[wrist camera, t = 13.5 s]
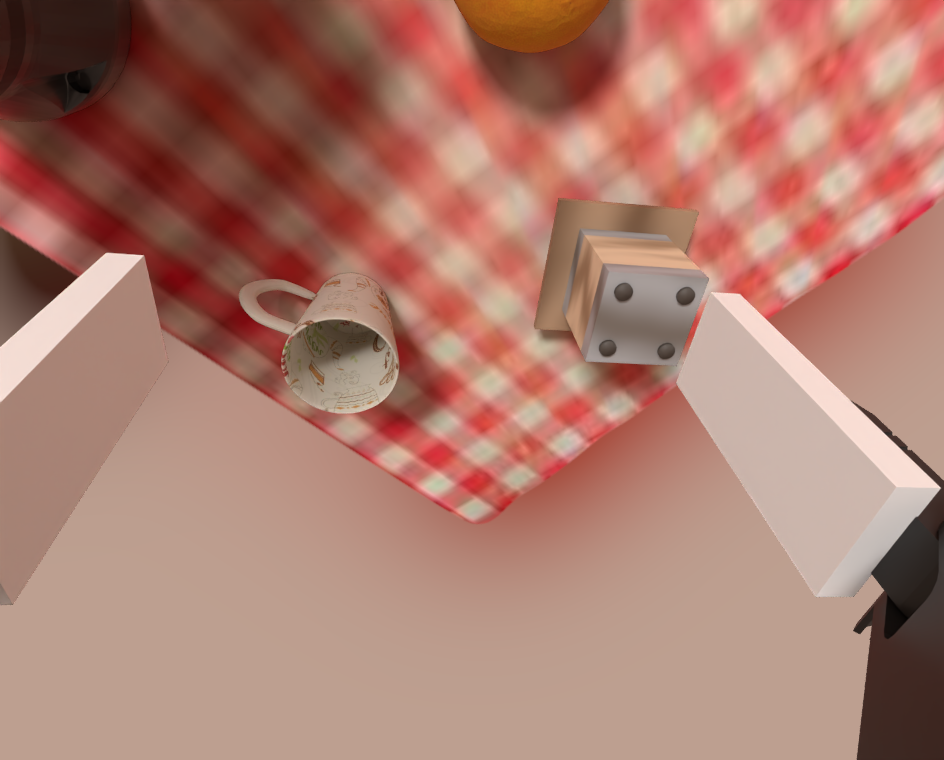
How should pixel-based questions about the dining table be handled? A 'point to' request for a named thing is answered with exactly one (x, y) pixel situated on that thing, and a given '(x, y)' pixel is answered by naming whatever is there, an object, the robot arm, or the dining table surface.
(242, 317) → the dining table surface
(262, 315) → the mug
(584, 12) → the fruit
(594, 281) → the housing
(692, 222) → the stand
